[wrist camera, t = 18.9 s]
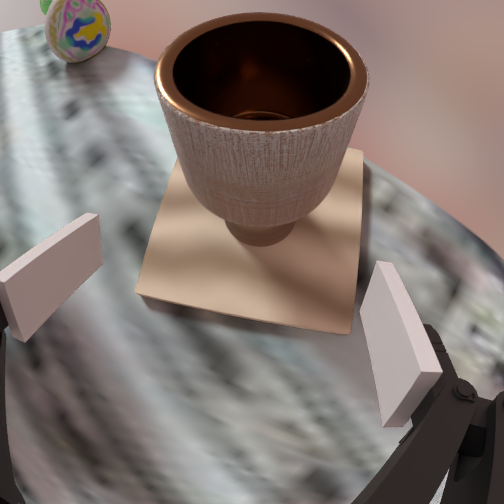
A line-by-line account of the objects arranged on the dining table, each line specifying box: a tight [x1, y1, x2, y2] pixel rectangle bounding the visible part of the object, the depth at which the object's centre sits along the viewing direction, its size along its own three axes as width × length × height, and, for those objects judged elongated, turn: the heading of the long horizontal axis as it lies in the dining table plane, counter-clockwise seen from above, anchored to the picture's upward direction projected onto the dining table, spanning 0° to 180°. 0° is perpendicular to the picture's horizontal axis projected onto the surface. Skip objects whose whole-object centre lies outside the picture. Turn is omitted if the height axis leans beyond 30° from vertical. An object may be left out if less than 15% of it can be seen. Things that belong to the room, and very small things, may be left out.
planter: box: [154, 12, 369, 227], centre depth 18 cm, size 11×11×10 cm
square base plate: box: [135, 148, 363, 335], centre depth 27 cm, size 20×20×10 cm
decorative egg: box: [45, 0, 111, 63], centre depth 37 cm, size 12×12×15 cm
